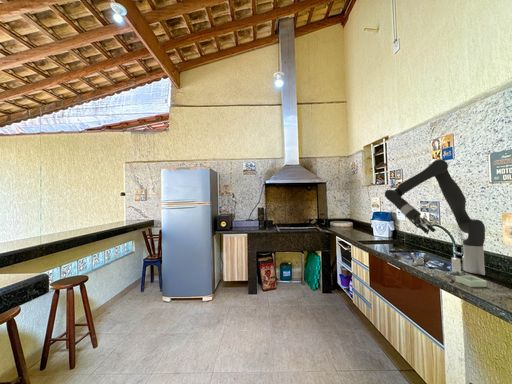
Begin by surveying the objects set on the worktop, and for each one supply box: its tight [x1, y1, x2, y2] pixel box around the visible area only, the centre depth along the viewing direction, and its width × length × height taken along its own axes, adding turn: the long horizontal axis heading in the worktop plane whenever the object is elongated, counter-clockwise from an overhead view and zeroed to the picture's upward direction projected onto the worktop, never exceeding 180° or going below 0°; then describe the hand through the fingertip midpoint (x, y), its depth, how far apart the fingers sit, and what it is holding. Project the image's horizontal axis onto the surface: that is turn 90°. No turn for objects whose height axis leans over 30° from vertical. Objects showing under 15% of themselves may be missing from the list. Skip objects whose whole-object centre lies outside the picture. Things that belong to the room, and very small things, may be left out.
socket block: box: [444, 272, 466, 282], centre depth 131 cm, size 7×7×3 cm
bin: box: [455, 275, 488, 288], centre depth 122 cm, size 9×9×4 cm
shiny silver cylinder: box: [451, 257, 463, 276], centre depth 131 cm, size 4×4×11 cm
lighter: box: [410, 252, 424, 266], centre depth 165 cm, size 7×2×8 cm, turn 78°
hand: (431, 231), depth 142 cm, fingers open, 8 cm apart
